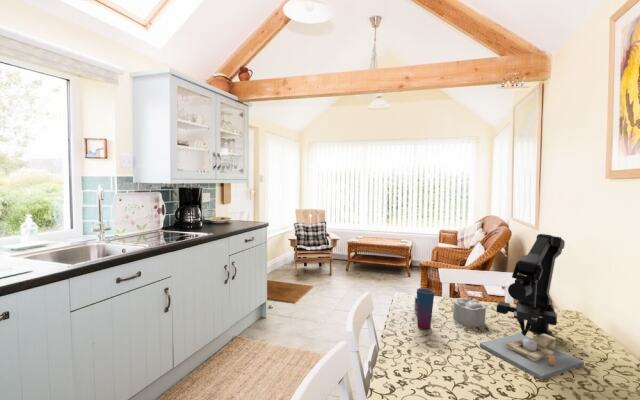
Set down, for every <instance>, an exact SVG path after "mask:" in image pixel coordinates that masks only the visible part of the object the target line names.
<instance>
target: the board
mask: <svg viewBox="0 0 640 400" xmlns="http://www.w3.org/2000/svg"><path fill="white" fill-rule="evenodd" d="M519 340H523V348H524V349H526V350H528V351H530V352H532V353H533V352H536V351H537V341H536V340H534V338H532V337H530V336H528V335H526V336H524V335H523V333H522V332H521V333H520V332H519V333H515V334H510V335H506V336H503V337H498V338H495V339H491V340H487V341H482V342H479V347H480V348H482V349H484V350H486V351H488V352H490V353H491V354H493V355H495V356H497V357H499V358H501V359H502V360H505V362H508V363H509V364H512V365H513V366H515V367H517V368H519V369H521V370H523V371H524V372H527V373H528V374H530V375H532V376H534V377H535V378H537V379H539V380H541V381H542V380H545V379H547V378H551V377H553V376H557V375H559V374H562V373H565V372H568V371H571V370H573V369H576V368H579V367H583V366H584V365H585V361H584V360H581V359H579V358H577V357H575V356H573V355H571V354H568V353H566V352H563V351H562V350H559V349H557V348H556V347H555V348H554V349H551V350H550V351H553V352H554V356H555V363H554V367H552V366H549V365H548V360H549V357H547V358H544V359H541V360H537V361H533V360H531V359H529V358H527V357H525V356H523V355H521V354H519V353H517V352H515V351H513V350H511V349H509V348H507V347H506V344H508V343H512V342H515V341H519Z"/></svg>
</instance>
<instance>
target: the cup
mask: <svg viewBox="0 0 640 400" xmlns="http://www.w3.org/2000/svg"><path fill="white" fill-rule="evenodd" d="M416 295H417V314H416V316H417V322H416V323H417V328H418V329H422V330H424V331H425V330H426V331H428V330H431V326H432V319H433V318H432V316H433V315H432V314H433V306H434V298H435V291H434V290H433V289H430V288H427V287H426V288H425V287H421V288H417V289H416Z"/></svg>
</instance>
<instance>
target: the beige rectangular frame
mask: <svg viewBox="0 0 640 400" xmlns="http://www.w3.org/2000/svg"><path fill="white" fill-rule="evenodd" d="M533 339H534V340H536V341H537V351H536V352H533V353H532V352H530V351H528V350H526V349H524V348H523V340H519V341H515V342H512V343H508V344H506V347H507V348H509V349H511V350H513V351H515V352H517V353H519V354H521V355H523V356H525V357H527V358H529V359H531V360H533V361H537V360H541V359H544V358H547V357H549V355H553V356H554V352H553V351H550V350H551V349H554V348H555V349H556V346H557V345H556V341H557V338H555V337H553V336H551V335H548V334H538V335H533Z"/></svg>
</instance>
